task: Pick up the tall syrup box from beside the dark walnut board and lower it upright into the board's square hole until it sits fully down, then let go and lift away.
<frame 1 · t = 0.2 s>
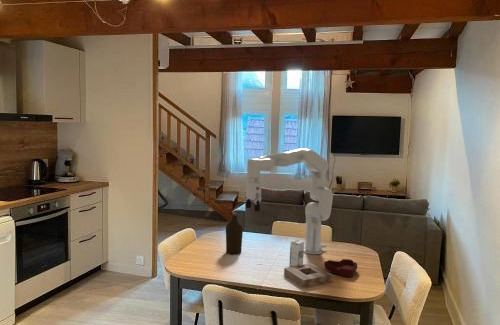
hand: (252, 209, 225), 31 cm above the table, fingers open, 9 cm apart
olive oil: (233, 252, 243), on the table
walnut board: (307, 278, 205), on the table
syrup box: (296, 266, 223), on the table
ashtray: (343, 273, 214), on the table
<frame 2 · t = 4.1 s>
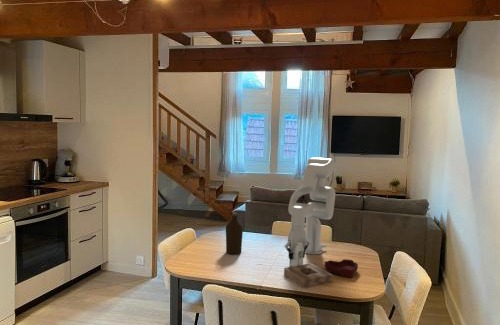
hand: (296, 257, 222), 5 cm above the table, fingers closed on syrup box, 7 cm apart
syrup box: (296, 266, 223), on the table, touching gripper
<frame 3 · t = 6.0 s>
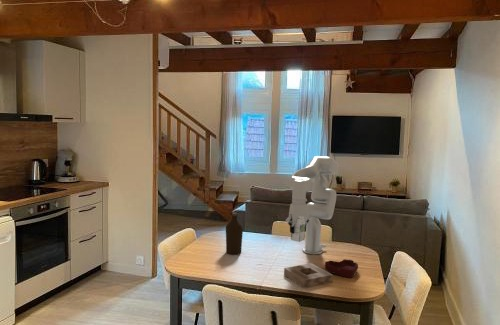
hand: (297, 231, 222), 20 cm above the table, fingers closed on syrup box, 7 cm apart
syrup box: (297, 240, 222), point 15 cm above the table, touching gripper
everything else where it was.
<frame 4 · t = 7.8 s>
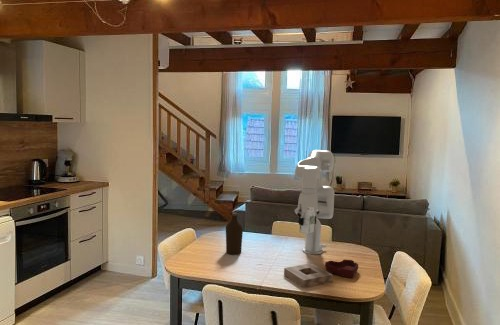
hand: (307, 224, 205), 28 cm above the table, fingers closed on syrup box, 7 cm apart
syrup box: (307, 233, 206), point 23 cm above the table, touching gripper
everything else where it was.
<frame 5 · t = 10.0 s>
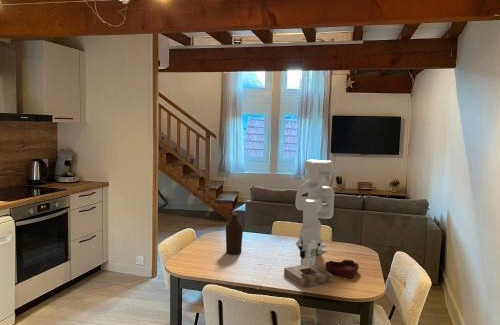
hand: (308, 256, 204), 12 cm above the table, fingers closed on syrup box, 7 cm apart
syrup box: (308, 265, 204), point 7 cm above the table, touching gripper
when the fingers open (6 cm above the table, at t = 12.0 s): syrup box drops 1 cm, resting in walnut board.
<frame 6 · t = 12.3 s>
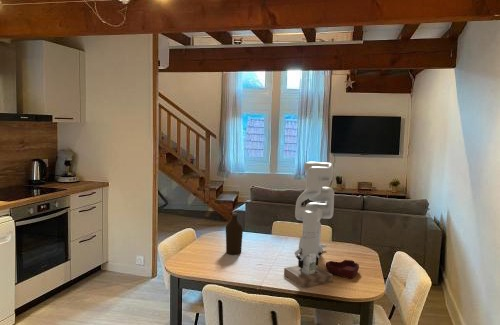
hand: (308, 266, 204), 7 cm above the table, fingers open, 9 cm apart
syrup box: (307, 278, 205), resting in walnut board
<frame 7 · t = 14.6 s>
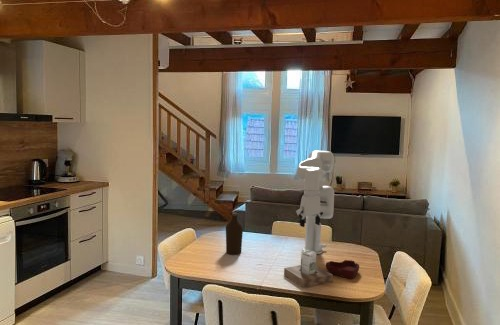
hand: (309, 225, 203), 28 cm above the table, fingers open, 9 cm apart
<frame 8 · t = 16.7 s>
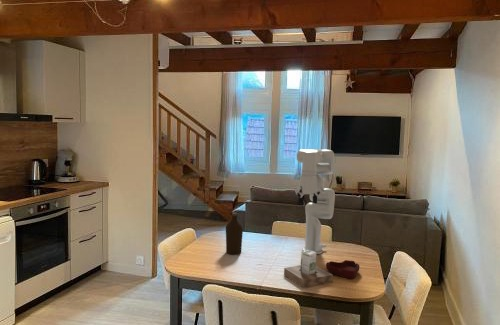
hand: (307, 203, 219), 36 cm above the table, fingers open, 9 cm apart
at the end: syrup box 0.1 cm off-centre on the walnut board, point 0.0 cm above the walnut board's base; syrup box tilted 0°; the gripper is holding nothing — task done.
